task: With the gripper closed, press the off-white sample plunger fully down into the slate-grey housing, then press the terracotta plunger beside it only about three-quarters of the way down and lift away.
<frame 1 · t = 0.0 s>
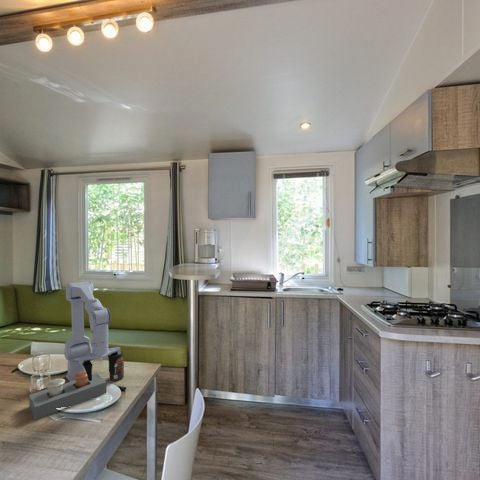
hand: (100, 376, 111), 10 cm above the table, tool pointing down, fingers open, 7 cm apart
supplement bottle: (116, 378, 130), on the table
sample plunger: (55, 388, 110), point 6 cm above the table, slide at 0.0 cm
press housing: (69, 399, 113), on the table
terracotta plunger: (81, 379, 116), point 6 cm above the table, slide at 0.0 cm
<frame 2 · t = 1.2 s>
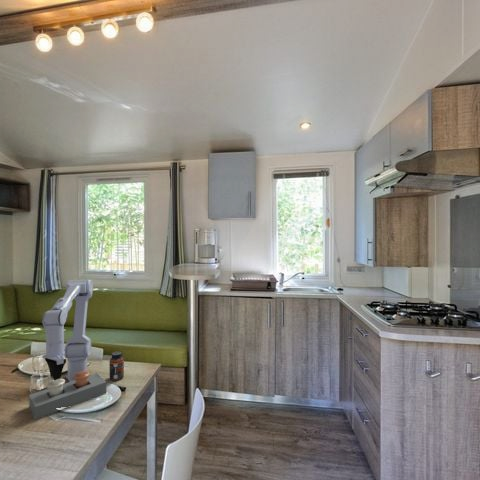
hand: (55, 377, 110), 10 cm above the table, tool pointing down, fingers open, 3 cm apart
nothing on the table moved.
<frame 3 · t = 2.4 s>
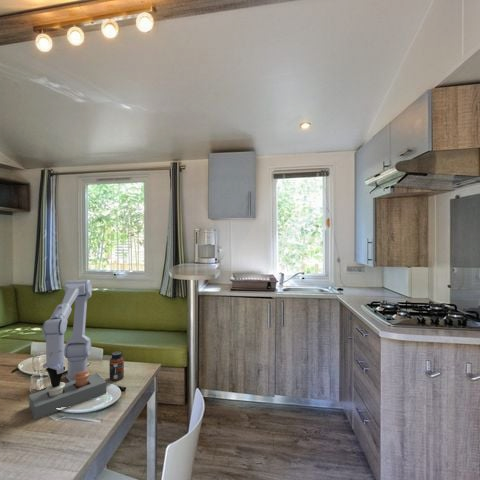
hand: (55, 386, 110), 7 cm above the table, tool pointing down, fingers closed, pressing on sample plunger
sample plunger: (55, 391, 110), point 5 cm above the table, slide at 1.4 cm, touching gripper
everything else where it was.
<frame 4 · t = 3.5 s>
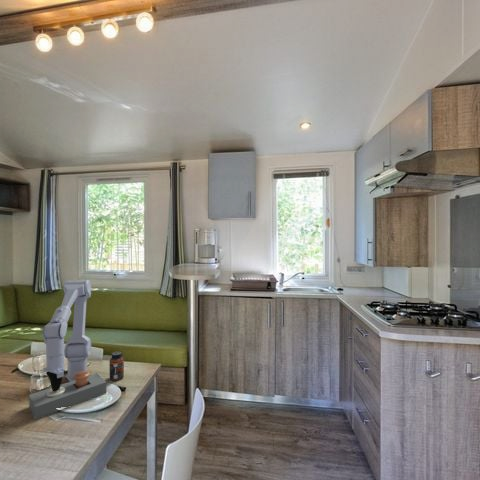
hand: (56, 389, 110), 6 cm above the table, tool pointing down, fingers closed
sample plunger: (56, 396, 110), point 3 cm above the table, slide at 3.3 cm, touching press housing
everything else where it was.
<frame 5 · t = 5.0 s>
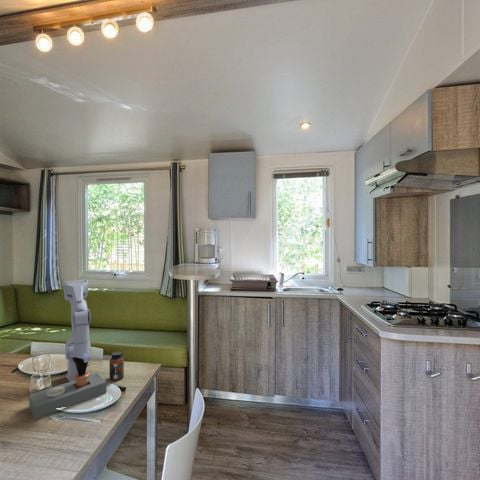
hand: (81, 374, 116), 8 cm above the table, tool pointing down, fingers closed, pressing on terracotta plunger
terracotta plunger: (81, 380, 116), point 6 cm above the table, slide at 0.2 cm, touching gripper
everything else where it was.
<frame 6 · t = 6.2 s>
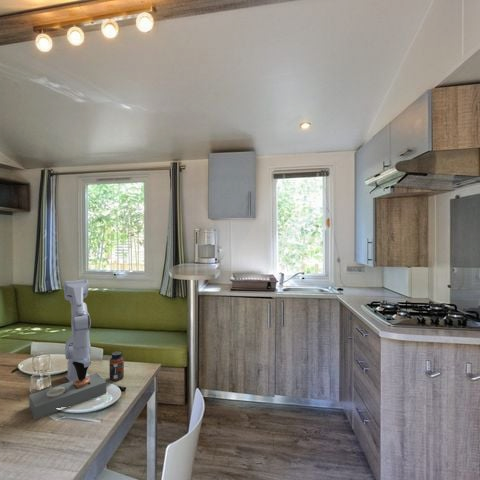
hand: (81, 379, 116), 6 cm above the table, tool pointing down, fingers closed
terracotta plunger: (81, 385, 116), point 4 cm above the table, slide at 2.4 cm
everything else where it was.
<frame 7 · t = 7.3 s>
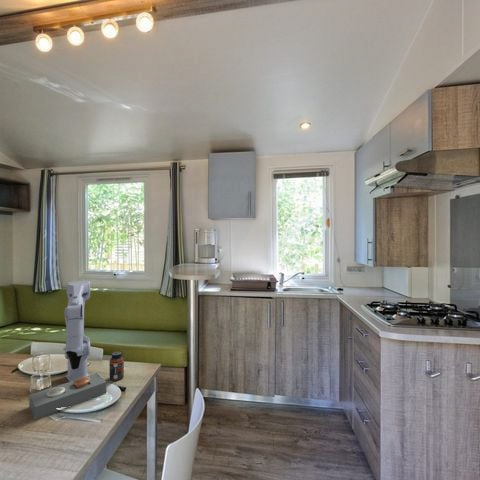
hand: (75, 368, 117), 10 cm above the table, tool pointing down, fingers closed
nothing on the table moved.
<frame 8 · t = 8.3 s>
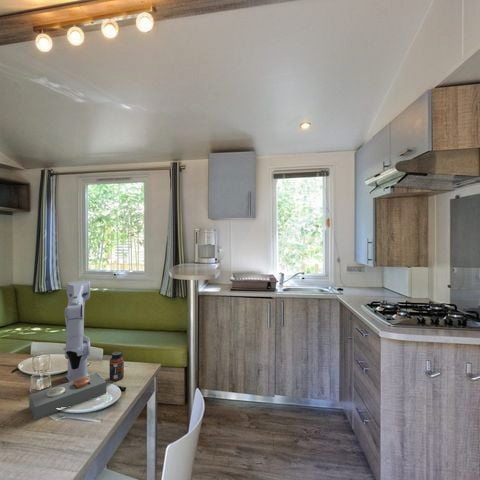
hand: (75, 368, 117), 10 cm above the table, tool pointing down, fingers closed
nothing on the table moved.
at the end: sample plunger slide at 3.3 cm; terracotta plunger slide at 2.4 cm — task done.
